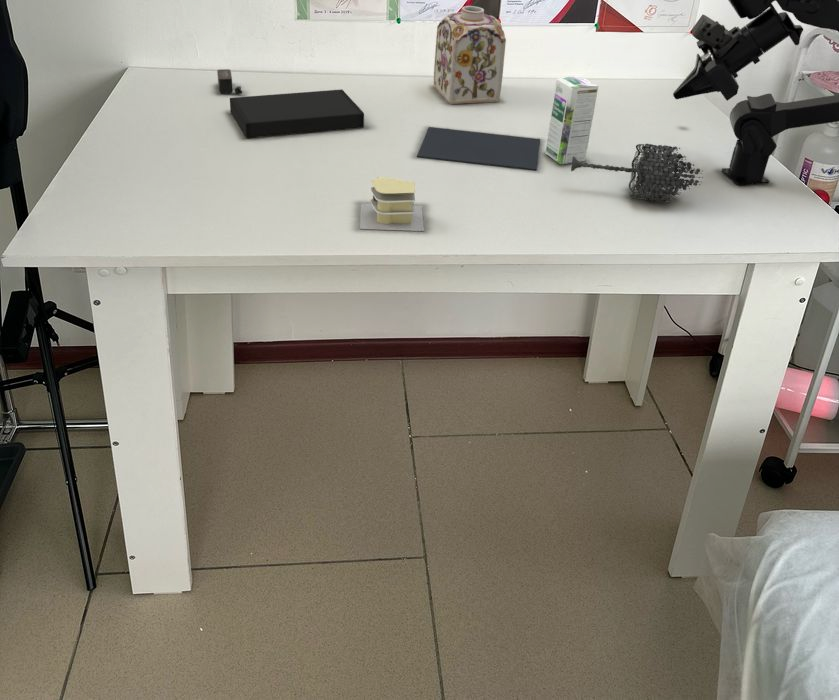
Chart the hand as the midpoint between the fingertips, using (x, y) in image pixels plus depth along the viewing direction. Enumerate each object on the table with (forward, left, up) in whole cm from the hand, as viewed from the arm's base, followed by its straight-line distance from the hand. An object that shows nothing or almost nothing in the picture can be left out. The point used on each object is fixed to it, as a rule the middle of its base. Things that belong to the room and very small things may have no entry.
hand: (674, 96), depth 160 cm
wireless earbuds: (+48, +75, -14) cm, 91 cm away
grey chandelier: (-11, +10, -14) cm, 20 cm away
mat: (+12, +31, -14) cm, 36 cm away
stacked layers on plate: (-14, +53, -14) cm, 57 cm away
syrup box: (+7, +16, -14) cm, 22 cm away
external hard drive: (+30, +63, -14) cm, 72 cm away
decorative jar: (+42, +25, -14) cm, 51 cm away
